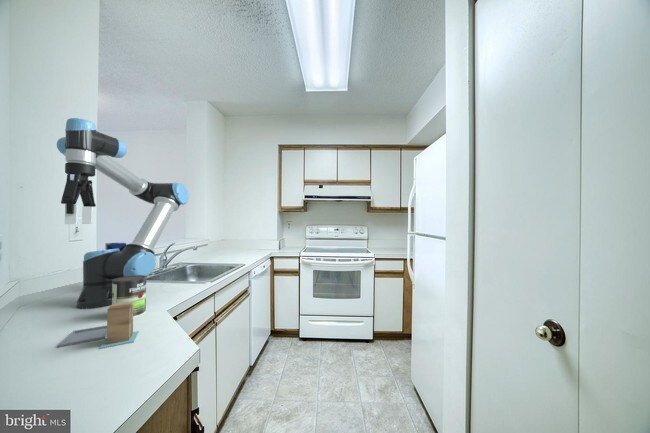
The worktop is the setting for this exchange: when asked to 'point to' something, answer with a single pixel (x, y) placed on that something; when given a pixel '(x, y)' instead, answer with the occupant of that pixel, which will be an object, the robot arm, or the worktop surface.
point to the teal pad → (120, 342)
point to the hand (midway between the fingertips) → (79, 224)
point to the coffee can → (130, 292)
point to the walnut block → (119, 322)
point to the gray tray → (84, 336)
